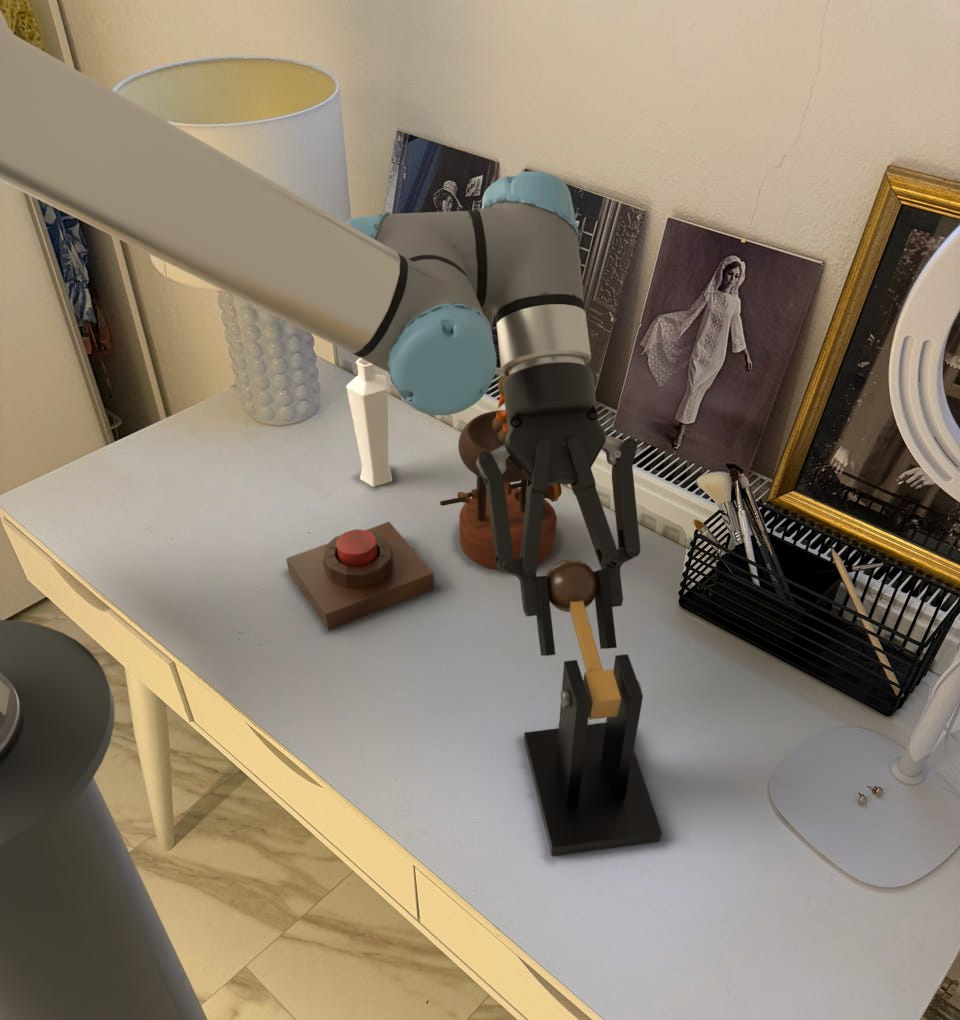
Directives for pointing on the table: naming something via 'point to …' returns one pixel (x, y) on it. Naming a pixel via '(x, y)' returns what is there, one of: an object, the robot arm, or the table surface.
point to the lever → (584, 632)
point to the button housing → (360, 578)
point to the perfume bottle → (371, 422)
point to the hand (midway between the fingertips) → (578, 651)
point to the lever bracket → (592, 770)
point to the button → (356, 548)
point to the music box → (474, 514)
